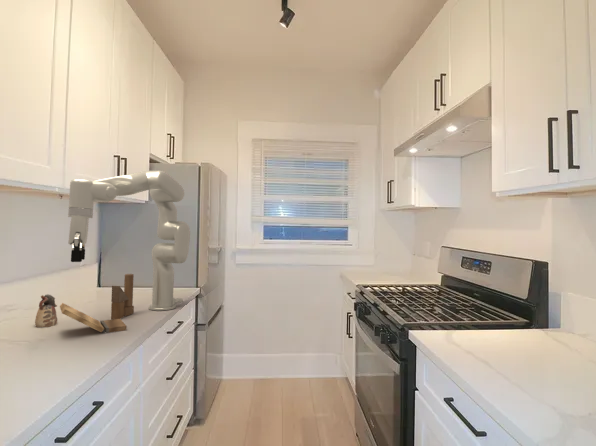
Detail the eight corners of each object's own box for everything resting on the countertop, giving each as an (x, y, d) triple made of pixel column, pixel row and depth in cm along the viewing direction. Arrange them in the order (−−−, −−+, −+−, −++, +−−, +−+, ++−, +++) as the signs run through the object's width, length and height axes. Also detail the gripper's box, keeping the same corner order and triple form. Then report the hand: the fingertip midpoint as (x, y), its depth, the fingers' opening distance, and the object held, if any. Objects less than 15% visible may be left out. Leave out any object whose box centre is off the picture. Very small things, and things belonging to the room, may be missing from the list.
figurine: (61, 323, 138) (62, 293, 138) (43, 328, 131) (44, 296, 131) (49, 321, 140) (50, 292, 141) (30, 326, 134) (31, 295, 134)
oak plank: (96, 324, 137) (99, 321, 137) (101, 332, 127) (104, 328, 128) (59, 306, 129) (62, 302, 130) (62, 313, 120) (65, 309, 120)
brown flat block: (119, 322, 142) (119, 318, 142) (126, 330, 132) (126, 325, 132) (100, 325, 138) (100, 320, 138) (105, 333, 128) (105, 328, 128)
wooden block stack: (110, 319, 147) (112, 276, 147) (126, 313, 157) (128, 273, 157) (118, 319, 146) (120, 277, 146) (134, 313, 157) (135, 273, 157)
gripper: (71, 213, 132) (69, 258, 132) (64, 212, 117) (61, 262, 116) (94, 215, 136) (91, 258, 135) (90, 213, 120) (87, 262, 120)
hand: (77, 260), depth 126 cm, fingers open, 9 cm apart
